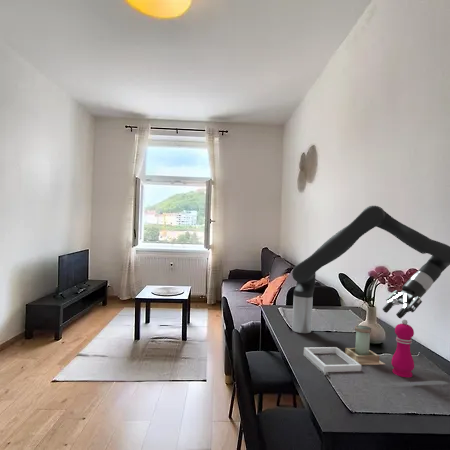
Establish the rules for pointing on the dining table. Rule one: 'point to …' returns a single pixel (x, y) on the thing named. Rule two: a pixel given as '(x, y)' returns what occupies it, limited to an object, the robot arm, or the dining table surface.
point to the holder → (364, 357)
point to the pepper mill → (403, 350)
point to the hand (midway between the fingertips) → (390, 313)
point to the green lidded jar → (362, 340)
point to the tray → (331, 368)
